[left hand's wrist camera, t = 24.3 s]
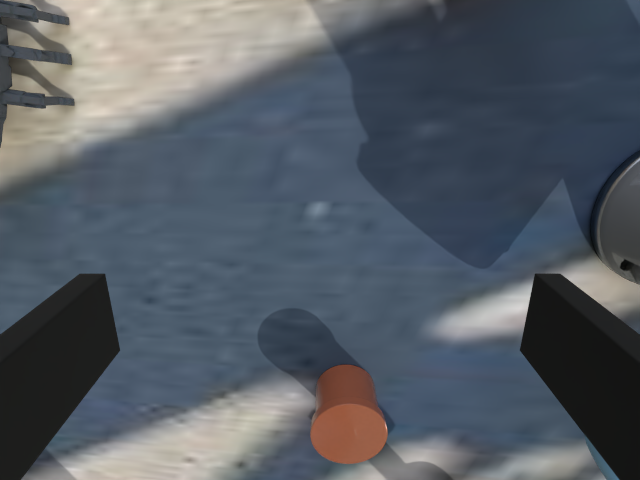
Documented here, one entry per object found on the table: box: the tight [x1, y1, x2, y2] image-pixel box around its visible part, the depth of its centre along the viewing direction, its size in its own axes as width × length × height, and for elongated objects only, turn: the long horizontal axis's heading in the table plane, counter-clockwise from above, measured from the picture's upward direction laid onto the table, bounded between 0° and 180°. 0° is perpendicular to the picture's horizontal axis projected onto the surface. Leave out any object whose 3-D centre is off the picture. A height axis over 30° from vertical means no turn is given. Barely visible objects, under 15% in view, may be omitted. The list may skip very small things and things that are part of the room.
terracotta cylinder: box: [310, 365, 388, 464], centre depth 46 cm, size 8×8×7 cm
